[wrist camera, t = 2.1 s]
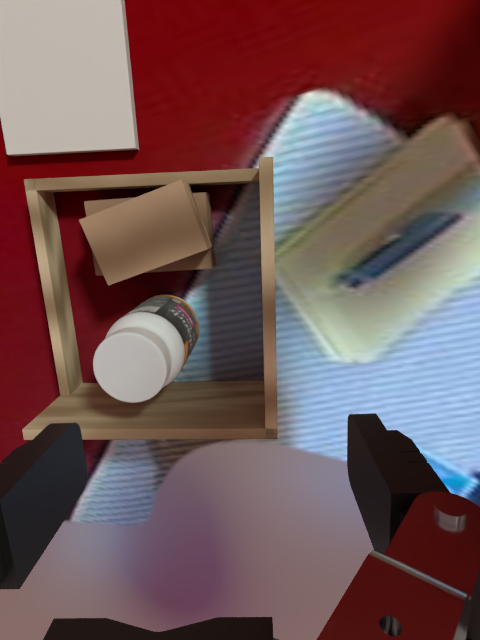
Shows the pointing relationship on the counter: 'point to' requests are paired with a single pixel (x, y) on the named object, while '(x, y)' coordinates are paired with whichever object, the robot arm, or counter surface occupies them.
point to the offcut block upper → (146, 232)
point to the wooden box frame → (177, 397)
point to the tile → (65, 77)
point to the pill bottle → (146, 348)
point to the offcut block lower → (188, 263)
